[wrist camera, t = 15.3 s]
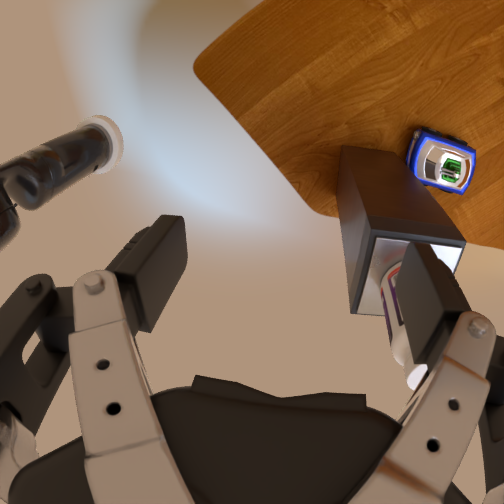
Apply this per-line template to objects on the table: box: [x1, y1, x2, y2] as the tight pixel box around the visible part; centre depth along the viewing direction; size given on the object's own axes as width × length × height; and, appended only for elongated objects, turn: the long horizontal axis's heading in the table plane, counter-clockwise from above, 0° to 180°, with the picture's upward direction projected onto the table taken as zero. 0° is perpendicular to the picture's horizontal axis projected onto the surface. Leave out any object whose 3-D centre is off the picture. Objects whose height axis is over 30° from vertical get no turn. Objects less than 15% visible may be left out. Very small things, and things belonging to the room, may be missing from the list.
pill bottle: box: [380, 262, 428, 390], centre depth 20 cm, size 5×5×10 cm
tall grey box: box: [336, 145, 467, 316], centre depth 36 cm, size 9×9×28 cm
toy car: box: [406, 127, 476, 195], centre depth 39 cm, size 9×12×10 cm
